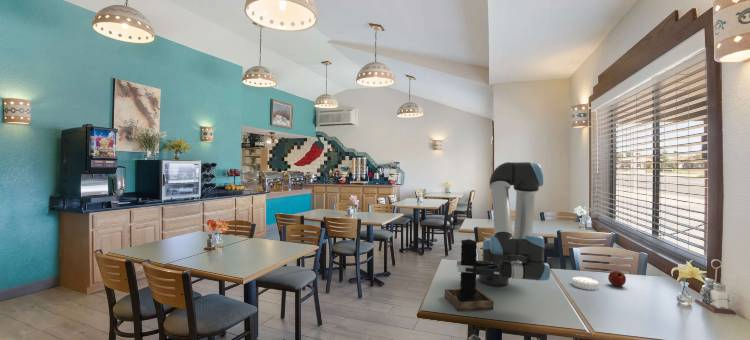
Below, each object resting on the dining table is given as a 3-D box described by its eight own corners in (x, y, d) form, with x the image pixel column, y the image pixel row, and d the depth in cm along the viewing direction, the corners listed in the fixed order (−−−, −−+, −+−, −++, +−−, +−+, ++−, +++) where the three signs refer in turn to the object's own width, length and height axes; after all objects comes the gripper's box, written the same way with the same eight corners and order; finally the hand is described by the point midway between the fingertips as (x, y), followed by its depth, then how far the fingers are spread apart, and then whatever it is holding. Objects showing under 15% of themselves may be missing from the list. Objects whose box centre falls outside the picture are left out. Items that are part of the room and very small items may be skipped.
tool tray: (476, 295, 164) (476, 287, 164) (493, 309, 148) (493, 301, 148) (444, 296, 161) (444, 289, 161) (458, 311, 146) (458, 303, 146)
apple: (610, 287, 178) (610, 271, 178) (606, 282, 185) (606, 267, 185) (627, 289, 175) (627, 273, 175) (622, 284, 182) (623, 269, 182)
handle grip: (479, 303, 148) (480, 295, 158) (480, 242, 148) (481, 237, 157) (455, 300, 152) (457, 292, 161) (456, 240, 151) (458, 236, 161)
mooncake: (566, 284, 182) (566, 277, 182) (581, 281, 187) (581, 274, 187) (588, 291, 171) (588, 284, 171) (604, 288, 176) (604, 281, 176)
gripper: (506, 255, 161) (456, 252, 165) (515, 267, 142) (458, 263, 146) (506, 271, 161) (455, 267, 165) (515, 285, 142) (458, 281, 146)
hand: (457, 265), depth 155 cm, fingers closed on handle grip, 7 cm apart
